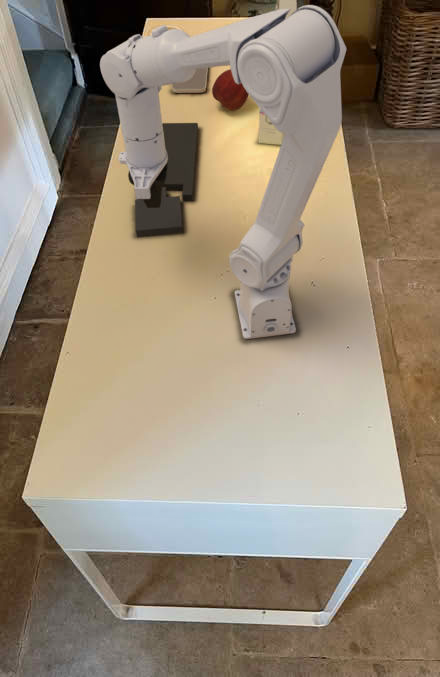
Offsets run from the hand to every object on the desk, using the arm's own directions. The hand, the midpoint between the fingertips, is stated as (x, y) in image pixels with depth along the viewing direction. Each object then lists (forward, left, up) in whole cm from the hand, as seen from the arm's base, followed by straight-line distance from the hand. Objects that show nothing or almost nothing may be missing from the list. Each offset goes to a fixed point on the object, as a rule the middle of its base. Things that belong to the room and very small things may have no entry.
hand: (153, 204), depth 95 cm
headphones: (+46, -30, -10) cm, 56 cm away
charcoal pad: (+8, 0, -9) cm, 13 cm away
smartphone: (+53, -11, -9) cm, 55 cm away
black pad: (+23, -4, -9) cm, 25 cm away
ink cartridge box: (+29, -25, -10) cm, 39 cm away
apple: (+39, -18, -10) cm, 44 cm away
